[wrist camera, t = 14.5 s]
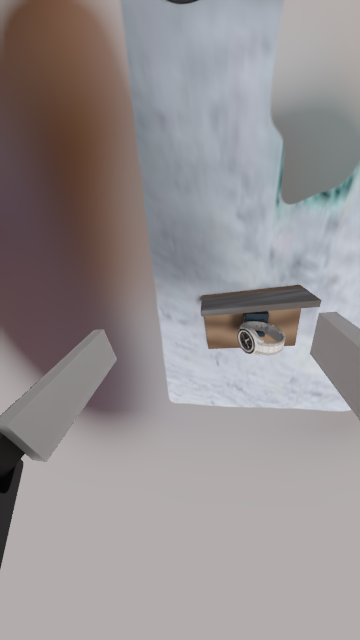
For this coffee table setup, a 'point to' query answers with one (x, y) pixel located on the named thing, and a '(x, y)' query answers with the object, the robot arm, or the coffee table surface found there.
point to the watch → (259, 334)
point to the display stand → (229, 308)
